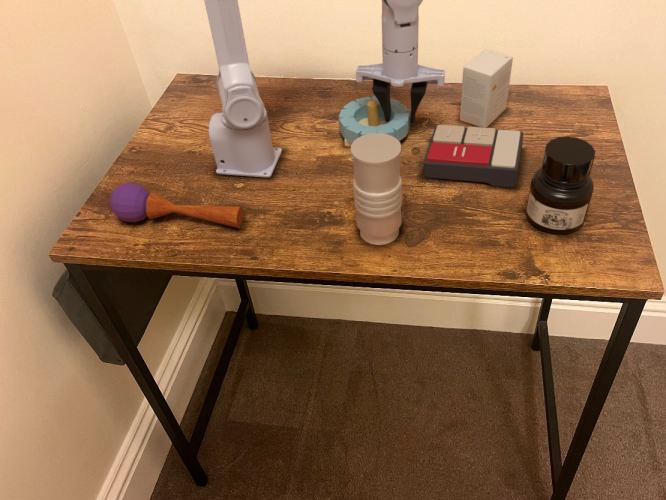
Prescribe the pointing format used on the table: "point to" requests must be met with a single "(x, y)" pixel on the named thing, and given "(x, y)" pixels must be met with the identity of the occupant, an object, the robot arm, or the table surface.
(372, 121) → the peg stand
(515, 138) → the button keypad
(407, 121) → the ring
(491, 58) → the small box
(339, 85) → the table surface
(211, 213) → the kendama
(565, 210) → the ink bottle
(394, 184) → the ribbed beige cylinder
